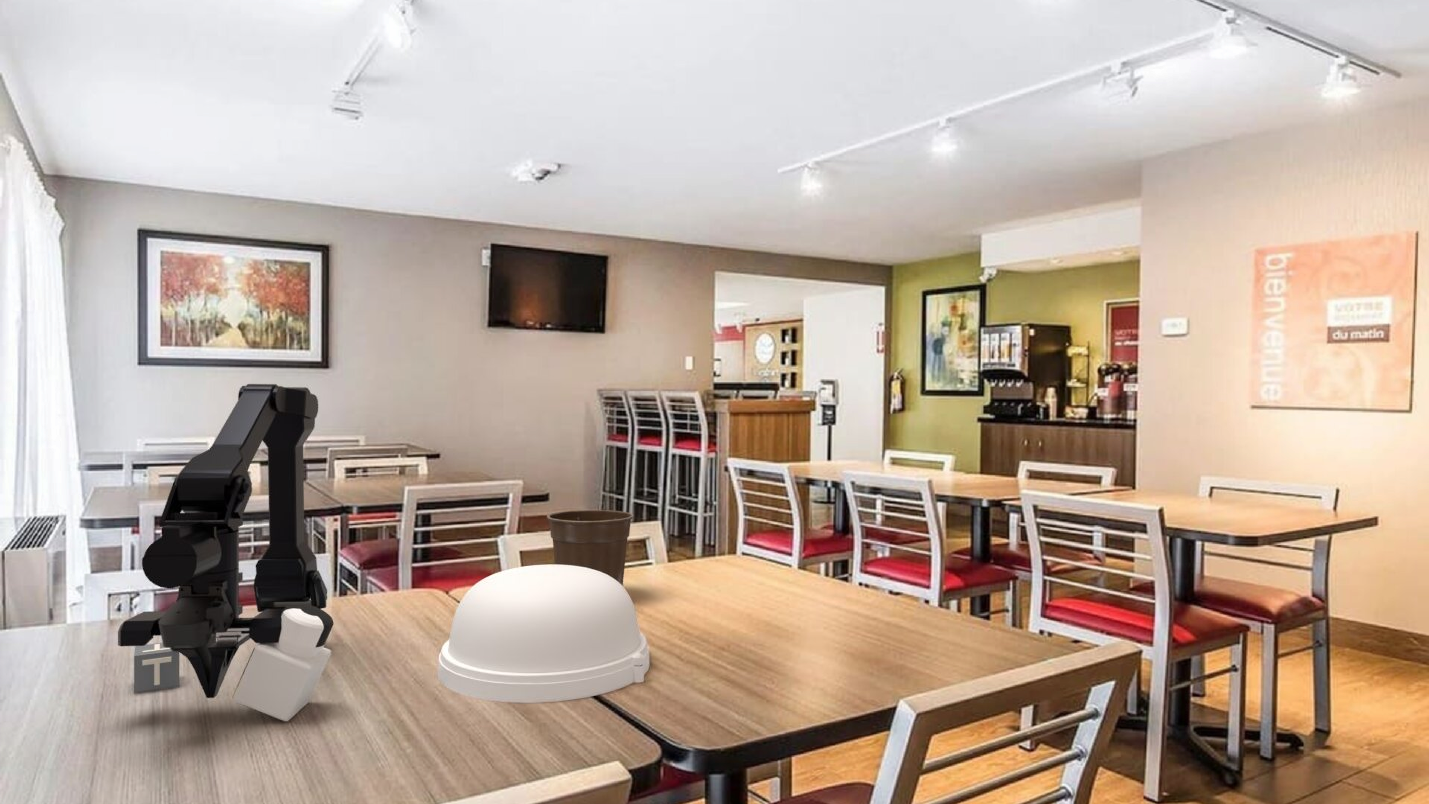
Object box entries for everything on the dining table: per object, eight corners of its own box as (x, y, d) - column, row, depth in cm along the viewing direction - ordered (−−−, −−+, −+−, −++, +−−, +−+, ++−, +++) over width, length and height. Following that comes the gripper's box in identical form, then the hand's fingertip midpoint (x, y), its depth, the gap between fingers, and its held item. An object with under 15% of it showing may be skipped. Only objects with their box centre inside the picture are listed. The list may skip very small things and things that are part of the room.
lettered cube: (135, 683, 117) (135, 645, 117) (178, 676, 120) (178, 639, 120) (134, 695, 113) (134, 655, 113) (179, 688, 116) (179, 649, 115)
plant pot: (561, 587, 175) (562, 507, 175) (640, 591, 173) (641, 509, 172) (534, 608, 159) (534, 519, 158) (620, 612, 157) (621, 522, 156)
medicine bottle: (257, 680, 110) (295, 593, 110) (310, 701, 111) (348, 614, 111) (229, 700, 103) (271, 607, 103) (286, 723, 104) (328, 630, 104)
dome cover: (690, 653, 134) (691, 561, 133) (584, 721, 106) (585, 606, 106) (518, 627, 147) (518, 544, 146) (384, 682, 119) (384, 579, 119)
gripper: (90, 585, 97) (90, 725, 97) (267, 583, 99) (267, 719, 100) (142, 565, 108) (142, 690, 108) (301, 563, 110) (301, 686, 111)
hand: (211, 697), depth 106 cm, fingers closed
